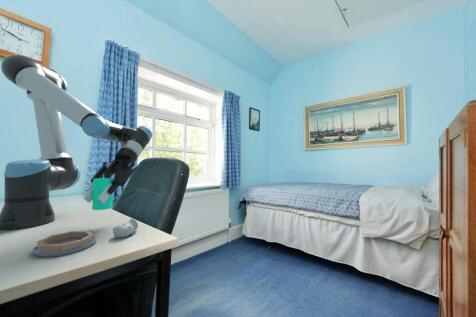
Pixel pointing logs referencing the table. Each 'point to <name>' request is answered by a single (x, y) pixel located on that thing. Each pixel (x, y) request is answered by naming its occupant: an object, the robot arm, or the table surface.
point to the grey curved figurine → (125, 229)
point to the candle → (98, 188)
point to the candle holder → (64, 244)
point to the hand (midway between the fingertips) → (93, 200)
